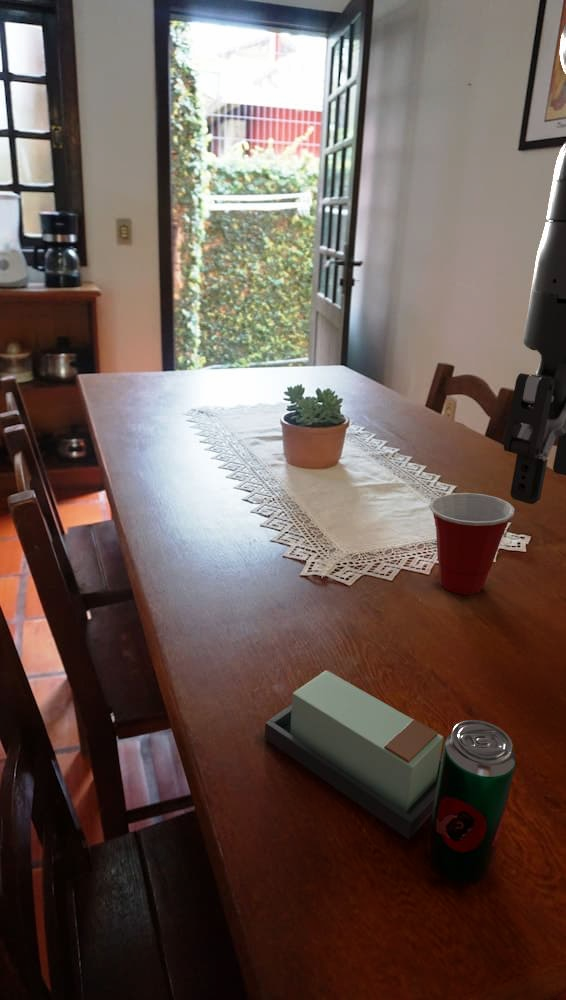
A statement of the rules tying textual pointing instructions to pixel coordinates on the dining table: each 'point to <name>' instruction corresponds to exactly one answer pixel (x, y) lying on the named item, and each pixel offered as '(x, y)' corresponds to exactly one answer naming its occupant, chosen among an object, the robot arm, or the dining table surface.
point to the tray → (350, 780)
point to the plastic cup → (468, 538)
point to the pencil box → (366, 738)
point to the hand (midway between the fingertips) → (545, 486)
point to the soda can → (470, 801)
